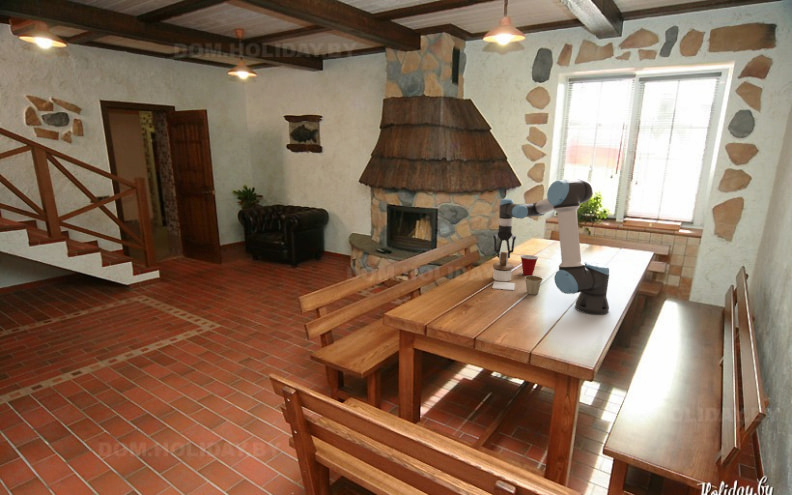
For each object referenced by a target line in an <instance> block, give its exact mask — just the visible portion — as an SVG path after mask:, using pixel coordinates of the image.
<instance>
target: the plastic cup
mask: <svg viewBox="0 0 792 495" xmlns="http://www.w3.org/2000/svg"><path fill="white" fill-rule="evenodd" d="M538 258H539V256H537V255H531V254H521V255H520V259H521V268H522V269H521V270H522V274H523V275H524V276H525V277H526V276H534V271H535V267H536V264H537V260H538Z"/></svg>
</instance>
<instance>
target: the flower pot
mask: <svg viewBox="0 0 792 495" xmlns="http://www.w3.org/2000/svg"><path fill="white" fill-rule="evenodd" d="M524 279H525V286H526V288H525V289H526V293H527V294H528V295H533V296H536V295H538V294H539V291H540V287H541V285H542V284H541V283H542V282H543V280H544V278H542V277H541V276H537V275H532V276H526V275H525V276H524Z"/></svg>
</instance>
